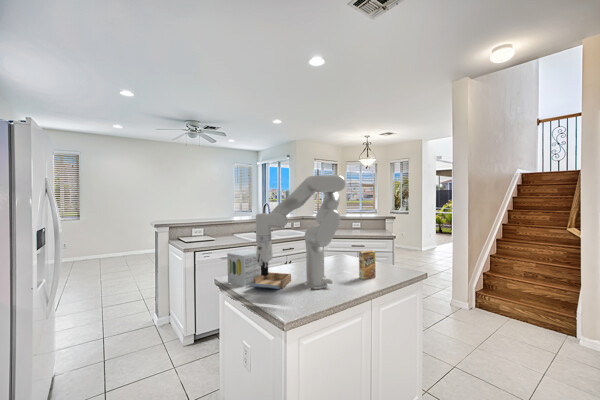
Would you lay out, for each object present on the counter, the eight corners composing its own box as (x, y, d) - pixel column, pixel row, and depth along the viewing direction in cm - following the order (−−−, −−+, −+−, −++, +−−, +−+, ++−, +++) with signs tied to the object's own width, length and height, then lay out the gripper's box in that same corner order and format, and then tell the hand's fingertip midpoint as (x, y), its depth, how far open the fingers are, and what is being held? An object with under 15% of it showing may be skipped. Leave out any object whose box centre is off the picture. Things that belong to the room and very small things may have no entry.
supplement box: (227, 284, 152) (226, 252, 151) (244, 278, 162) (244, 248, 162) (244, 289, 144) (243, 255, 144) (261, 282, 155) (261, 251, 155)
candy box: (363, 279, 158) (362, 252, 157) (358, 277, 161) (358, 251, 161) (375, 277, 161) (375, 251, 161) (371, 275, 165) (371, 250, 165)
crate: (291, 282, 153) (291, 273, 153) (282, 291, 140) (282, 281, 140) (264, 280, 158) (264, 272, 158) (253, 288, 145) (253, 279, 144)
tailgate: (280, 287, 141) (275, 285, 134) (280, 290, 141) (275, 288, 134) (256, 284, 145) (250, 283, 138) (256, 288, 144) (249, 286, 137)
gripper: (264, 241, 129) (265, 280, 130) (276, 236, 144) (277, 271, 144) (250, 240, 131) (251, 279, 132) (262, 236, 146) (263, 270, 146)
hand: (264, 275), depth 138 cm, fingers closed
